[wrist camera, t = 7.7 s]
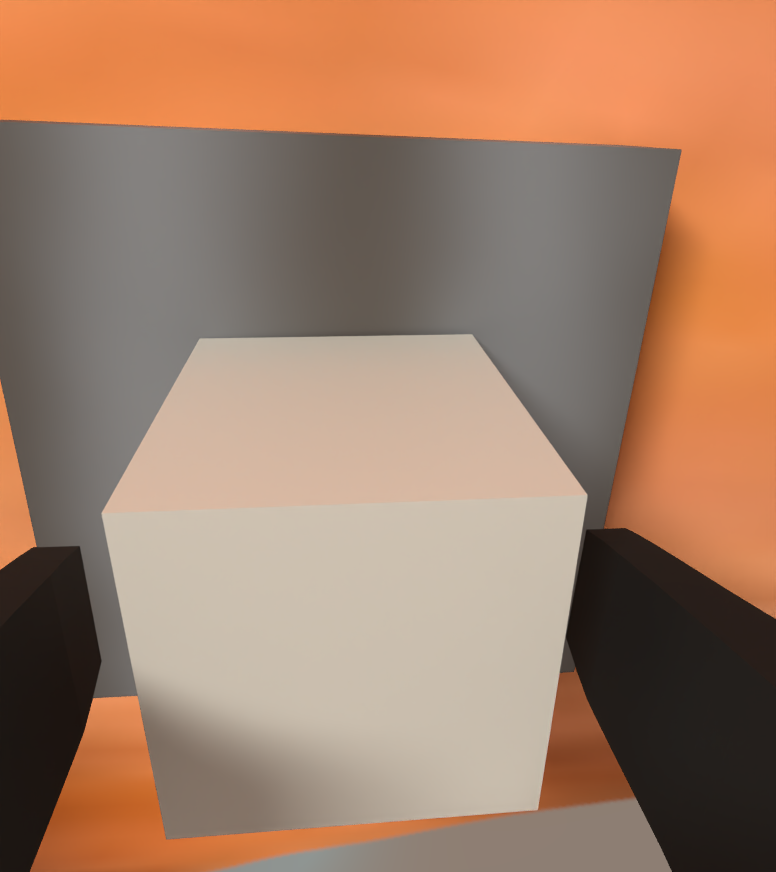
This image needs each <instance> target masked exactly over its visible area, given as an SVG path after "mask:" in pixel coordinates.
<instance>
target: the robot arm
mask: <svg viewBox="0 0 776 872" xmlns="http://www.w3.org/2000/svg"><path fill="white" fill-rule="evenodd" d="M566 639H567V642H568V645H569V648H570V652H571V655H572V658H573V661H574V664H575V667H576V670H577V673H578V675H579V678H580V681H581V684H582V686H583V689H584V692H585V695H586V697H587V700H588V702H589V704H590V706H591V708H592V710H593V713H594V715H595V717H596V719H597V721H598V723H599V725H600V727H601V729H602V731H603V733H604V735H605V737H606V739H607V741H608V743H609V745H610V747H611V749H612V751H613V753H614V755H615V757H616V759H617V761H618V763H619V765H620V767H621V769H622V771H623V773H624V775H625V777H626V779H627V781H628V783H629V785H630V787H631V789H632V791H633V793H634V795H635V797H636V799H637V801H638V803H639V805H640V807H641V809H642V811H643V813H644V815H645V817H646V819H647V821H648V823H649V825H650V827H651V829H652V831H653V833H654V835H655V837H656V838H657V841H658V843H659V845H660V846H661V849H662V851H663V853H664V855H665V857H666V860H667V861H668V864H669V866H670V868H671V870H672V872H776V619H775V618H773V617H771V616H770V615H768V614H766V613H765V612H763V611H761V610H760V609H758V608H756V607H755V606H753V605H751V604H750V603H748V602H747V601H745V600H743V599H742V598H740V597H738V596H737V595H735V594H734V593H732V592H730V591H729V590H727V589H725V588H724V587H722V586H721V585H719V584H717V583H716V582H714V581H713V580H711V579H710V578H708V577H706V576H705V575H703V574H702V573H700V572H698V571H697V570H695V569H694V568H692V567H690V566H689V565H687V564H686V563H684V562H682V561H681V560H679V559H678V558H676V557H675V556H673V555H671V554H670V553H668V552H666V551H665V550H663V549H662V548H660V547H658V546H657V545H655V544H653V543H652V542H650V541H648V540H646V539H645V538H643V537H641V536H639V535H638V534H636V533H634V532H632V531H630V530H628V529H626V528H617V529H586V534H585V539H584V544H583V550H582V555H581V560H580V565H579V571H578V576H577V581H576V586H575V591H574V597H573V602H572V607H571V612H570V618H569V623H568V628H567V633H566ZM101 662H102V660H101V655H100V650H99V644H98V639H97V634H96V629H95V623H94V618H93V613H92V607H91V602H90V597H89V591H88V586H87V581H86V576H85V570H84V565H83V560H82V554H81V549H80V546H60V547H33V548H31V549H30V550H28V551H27V552H25V553H24V554H22V555H21V556H19V557H18V558H16V559H15V560H13V561H12V562H11V563H9V564H8V565H7V566H5V567H4V568H2V569H1V570H0V872H30V869H31V867H32V864H33V862H34V859H35V857H36V854H37V851H38V849H39V846H40V844H41V841H42V839H43V836H44V834H45V831H46V829H47V826H48V824H49V821H50V818H51V816H52V813H53V811H54V808H55V806H56V803H57V801H58V798H59V796H60V793H61V791H62V788H63V785H64V783H65V780H66V778H67V775H68V772H69V770H70V767H71V765H72V762H73V759H74V757H75V754H76V752H77V749H78V746H79V744H80V741H81V738H82V736H83V733H84V730H85V726H86V722H87V719H88V715H89V711H90V707H91V703H92V700H93V696H94V691H95V687H96V683H97V679H98V675H99V670H100V666H101Z"/></svg>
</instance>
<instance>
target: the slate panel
mask: <svg viewBox="0 0 776 872" xmlns="http://www.w3.org/2000/svg"><path fill="white" fill-rule="evenodd" d="M680 155H681V150H680V149H666V148H652V147H638V146H624V145H602V144H578V143H554V142H529V141H505V140H481V139H457V138H433V137H409V136H384V135H360V134H336V133H312V132H288V131H263V130H239V129H215V128H191V127H167V126H143V125H118V124H94V123H70V122H46V121H22V120H0V380H1V384H2V389H3V394H4V398H5V403H6V407H7V412H8V416H9V421H10V426H11V430H12V435H13V439H14V444H15V449H16V453H17V458H18V462H19V467H20V472H21V476H22V481H23V485H24V490H25V495H26V499H27V504H28V508H29V513H30V517H31V522H32V527H33V531H34V536H35V540H36V545H37V547H60V546H80V549H81V554H82V560H83V565H84V570H85V576H86V581H87V586H88V591H89V597H90V602H91V607H92V613H93V618H94V623H95V629H96V634H97V639H98V644H99V650H100V655H101V660H102V662H101V666H100V670H99V675H98V679H97V683H96V687H95V691H94V696H93V698H103V697H121V696H138V695H137V690H136V685H135V680H134V675H133V670H132V665H131V660H130V655H129V650H128V645H127V640H126V635H125V630H124V624H123V619H122V614H121V609H120V604H119V599H118V594H117V589H116V584H115V579H114V574H113V569H112V564H111V559H110V554H109V549H108V544H107V539H106V534H105V529H104V524H103V519H102V514H101V513H102V511H103V510H104V508H105V506H106V504H107V502H108V501H109V499H110V497H111V495H112V494H113V492H114V490H115V488H116V486H117V485H118V483H119V481H120V479H121V478H122V476H123V474H124V472H125V470H126V469H127V467H128V465H129V463H130V462H131V460H132V458H133V456H134V454H135V453H136V451H137V449H138V447H139V446H140V444H141V442H142V440H143V438H144V437H145V435H146V433H147V431H148V430H149V428H150V426H151V424H152V422H153V421H154V419H155V417H156V415H157V413H158V412H159V410H160V408H161V406H162V405H163V403H164V401H165V399H166V397H167V396H168V394H169V392H170V390H171V389H172V387H173V385H174V383H175V381H176V380H177V378H178V376H179V374H180V373H181V371H182V369H183V367H184V365H185V364H186V362H187V360H188V358H189V357H190V355H191V353H192V351H193V349H194V348H195V346H196V344H197V342H198V340H199V339H200V338H264V337H328V336H392V335H456V334H472V335H473V336H474V338H475V339H476V340H477V342H478V343H479V345H480V346H481V347H482V349H483V350H484V352H485V353H486V354H487V356H488V357H489V359H490V360H491V361H492V363H493V364H494V365H495V367H496V368H497V370H498V371H499V372H500V374H501V375H502V377H503V378H504V379H505V381H506V382H507V384H508V385H509V386H510V388H511V389H512V391H513V392H514V393H515V395H516V396H517V397H518V399H519V400H520V402H521V403H522V404H523V406H524V407H525V409H526V410H527V411H528V413H529V414H530V416H531V417H532V418H533V420H534V421H535V423H536V424H537V425H538V427H539V428H540V430H541V431H542V432H543V434H544V435H545V436H546V438H547V439H548V441H549V442H550V443H551V445H552V446H553V448H554V449H555V450H556V452H557V453H558V455H559V456H560V457H561V459H562V460H563V462H564V463H565V464H566V466H567V467H568V468H569V470H570V471H571V473H572V474H573V475H574V477H575V478H576V480H577V481H578V482H579V484H580V485H581V487H582V488H583V489H584V491H585V492H586V494H587V495H588V496H587V502H586V509H585V515H584V521H583V528H582V534H581V540H580V547H579V553H578V559H577V566H576V572H575V578H574V585H573V591H572V597H571V604H570V610H569V616H568V622H567V628H568V623H569V618H570V612H571V607H572V602H573V597H574V591H575V586H576V581H577V576H578V571H579V565H580V560H581V555H582V550H583V544H584V539H585V534H586V529H604V524H605V519H606V514H607V509H608V504H609V500H610V495H611V490H612V485H613V480H614V475H615V470H616V466H617V461H618V456H619V451H620V446H621V441H622V437H623V432H624V427H625V422H626V417H627V412H628V407H629V403H630V398H631V393H632V388H633V383H634V378H635V373H636V369H637V364H638V359H639V354H640V349H641V344H642V340H643V335H644V330H645V325H646V320H647V315H648V310H649V306H650V301H651V296H652V291H653V286H654V281H655V276H656V272H657V267H658V262H659V257H660V252H661V247H662V243H663V238H664V233H665V228H666V223H667V218H668V213H669V209H670V204H671V199H672V194H673V189H674V184H675V179H676V175H677V170H678V165H679V160H680ZM566 633H567V629H566ZM574 669H575V664H574V661H573V658H572V655H571V652H570V648H569V645H568V642H567V639H566V635H565V641H564V648H563V654H562V660H561V667H560V673H563V672H574Z"/></svg>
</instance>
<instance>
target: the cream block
mask: <svg viewBox="0 0 776 872" xmlns="http://www.w3.org/2000/svg"><path fill="white" fill-rule="evenodd" d="M587 496H588V495H587V494H586V492H585V491H584V489H583V488H582V487H581V485H580V484H579V482H578V481H577V480H576V478H575V477H574V475H573V474H572V473H571V471H570V470H569V468H568V467H567V466H566V464H565V463H564V462H563V460H562V459H561V457H560V456H559V455H558V453H557V452H556V450H555V449H554V448H553V446H552V445H551V443H550V442H549V441H548V439H547V438H546V436H545V435H544V434H543V432H542V431H541V430H540V428H539V427H538V425H537V424H536V423H535V421H534V420H533V418H532V417H531V416H530V414H529V413H528V411H527V410H526V409H525V407H524V406H523V404H522V403H521V402H520V400H519V399H518V397H517V396H516V395H515V393H514V392H513V391H512V389H511V388H510V386H509V385H508V384H507V382H506V381H505V379H504V378H503V377H502V375H501V374H500V372H499V371H498V370H497V368H496V367H495V365H494V364H493V363H492V361H491V360H490V359H489V357H488V356H487V354H486V353H485V352H484V350H483V349H482V347H481V346H480V345H479V343H478V342H477V340H476V339H475V338H474V336H473V335H472V334H456V335H392V336H328V337H264V338H200V339H199V340H198V342H197V344H196V346H195V348H194V349H193V351H192V353H191V355H190V357H189V358H188V360H187V362H186V364H185V365H184V367H183V369H182V371H181V373H180V374H179V376H178V378H177V380H176V381H175V383H174V385H173V387H172V389H171V390H170V392H169V394H168V396H167V397H166V399H165V401H164V403H163V405H162V406H161V408H160V410H159V412H158V413H157V415H156V417H155V419H154V421H153V422H152V424H151V426H150V428H149V430H148V431H147V433H146V435H145V437H144V438H143V440H142V442H141V444H140V446H139V447H138V449H137V451H136V453H135V454H134V456H133V458H132V460H131V462H130V463H129V465H128V467H127V469H126V470H125V472H124V474H123V476H122V478H121V479H120V481H119V483H118V485H117V486H116V488H115V490H114V492H113V494H112V495H111V497H110V499H109V501H108V502H107V504H106V506H105V508H104V510H103V511H102V513H101V514H102V519H103V524H104V529H105V534H106V539H107V544H108V549H109V554H110V559H111V564H112V569H113V574H114V579H115V584H116V589H117V594H118V599H119V604H120V609H121V614H122V619H123V624H124V630H125V635H126V640H127V645H128V650H129V655H130V660H131V665H132V670H133V675H134V680H135V685H136V690H137V695H138V700H139V705H140V710H141V715H142V720H143V725H144V730H145V735H146V740H147V745H148V750H149V755H150V760H151V765H152V770H153V775H154V780H155V785H156V790H157V795H158V800H159V805H160V810H161V815H162V820H163V825H164V830H165V835H166V839H179V838H192V837H204V836H217V835H229V834H242V833H255V832H267V831H280V830H292V829H305V828H317V827H330V826H343V825H355V824H368V823H380V822H393V821H406V820H418V819H431V818H443V817H456V816H469V815H481V814H494V813H506V812H519V811H531V810H538V806H539V799H540V793H541V787H542V780H543V774H544V768H545V761H546V755H547V749H548V742H549V736H550V730H551V724H552V717H553V711H554V705H555V698H556V692H557V686H558V679H559V673H560V667H561V660H562V654H563V648H564V641H565V635H566V629H567V622H568V616H569V610H570V604H571V597H572V591H573V585H574V578H575V572H576V566H577V559H578V553H579V547H580V540H581V534H582V528H583V521H584V515H585V509H586V502H587Z"/></svg>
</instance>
